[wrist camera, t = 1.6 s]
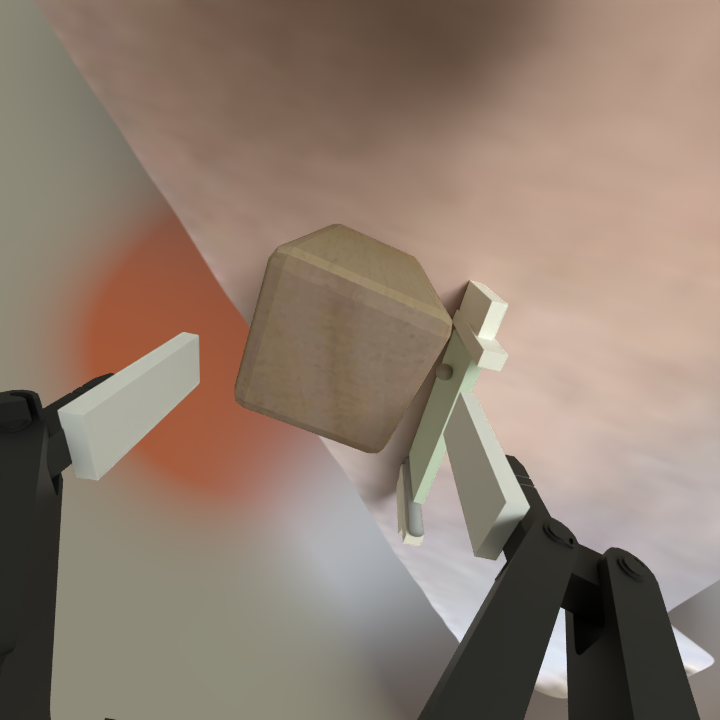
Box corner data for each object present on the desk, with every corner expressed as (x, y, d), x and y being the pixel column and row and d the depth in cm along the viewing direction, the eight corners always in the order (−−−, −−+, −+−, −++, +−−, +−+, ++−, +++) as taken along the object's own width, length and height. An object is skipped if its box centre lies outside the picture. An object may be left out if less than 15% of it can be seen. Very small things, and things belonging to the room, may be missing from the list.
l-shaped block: (466, 279, 34) (500, 311, 24) (485, 283, 34) (526, 316, 24) (394, 484, 48) (396, 557, 38) (407, 486, 48) (413, 560, 38)
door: (417, 455, 45) (423, 504, 37) (397, 451, 44) (399, 499, 37) (464, 331, 36) (483, 363, 29) (440, 326, 36) (453, 356, 29)
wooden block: (303, 307, 37) (224, 407, 19) (333, 219, 32) (267, 240, 14) (383, 340, 38) (380, 465, 20) (422, 259, 33) (464, 325, 15)
